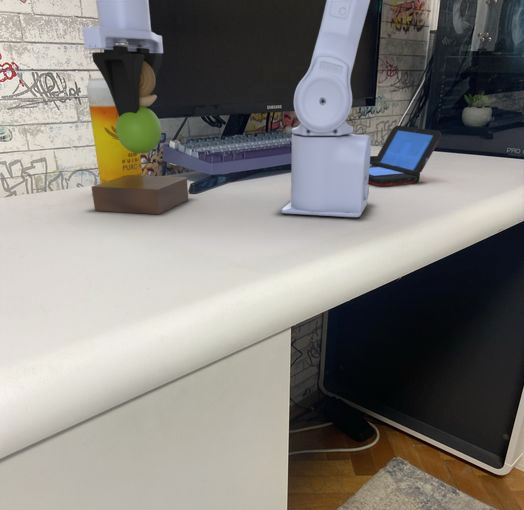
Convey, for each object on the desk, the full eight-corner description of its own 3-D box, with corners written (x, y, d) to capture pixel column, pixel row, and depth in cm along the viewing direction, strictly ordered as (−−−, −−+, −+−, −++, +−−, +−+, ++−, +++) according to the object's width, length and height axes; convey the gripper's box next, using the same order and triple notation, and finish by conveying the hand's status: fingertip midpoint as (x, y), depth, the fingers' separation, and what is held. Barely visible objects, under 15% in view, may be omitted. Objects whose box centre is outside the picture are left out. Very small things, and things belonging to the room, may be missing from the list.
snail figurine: (116, 152, 69) (103, 45, 64) (166, 151, 69) (157, 44, 64) (105, 155, 64) (91, 40, 59) (159, 155, 64) (150, 39, 59)
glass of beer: (134, 197, 75) (120, 77, 68) (94, 196, 76) (76, 78, 69) (150, 189, 80) (139, 77, 73) (113, 188, 81) (98, 78, 75)
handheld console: (337, 175, 90) (339, 127, 87) (391, 170, 94) (395, 124, 90) (378, 187, 80) (383, 134, 76) (437, 182, 83) (444, 130, 80)
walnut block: (188, 200, 73) (187, 177, 72) (158, 214, 65) (156, 189, 64) (130, 196, 75) (127, 174, 74) (94, 210, 68) (91, 186, 66)
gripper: (121, -5, 66) (134, 115, 72) (48, -23, 53) (71, 124, 60) (174, -8, 64) (183, 116, 70) (110, -27, 52) (128, 125, 58)
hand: (135, 120), depth 65 cm, fingers closed on snail figurine, 2 cm apart
